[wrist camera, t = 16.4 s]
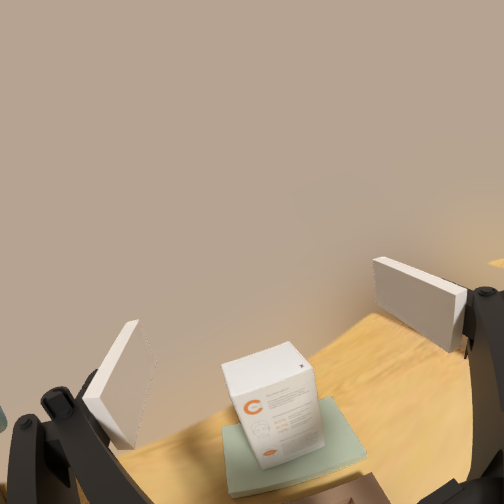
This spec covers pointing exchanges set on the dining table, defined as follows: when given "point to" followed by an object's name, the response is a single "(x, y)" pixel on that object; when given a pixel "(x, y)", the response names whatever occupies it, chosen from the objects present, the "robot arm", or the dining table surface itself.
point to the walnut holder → (349, 493)
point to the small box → (276, 403)
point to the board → (297, 470)
